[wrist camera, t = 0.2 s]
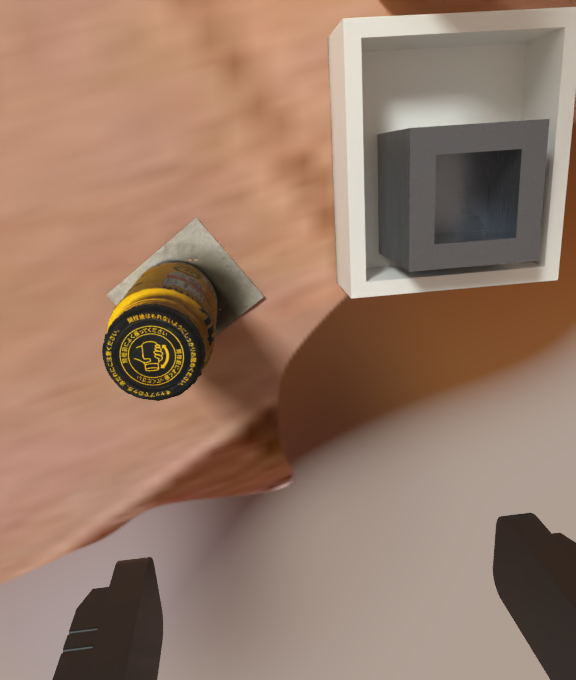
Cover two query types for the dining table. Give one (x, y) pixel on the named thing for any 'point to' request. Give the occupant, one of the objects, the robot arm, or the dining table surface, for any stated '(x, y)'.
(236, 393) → the dining table surface
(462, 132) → the socket
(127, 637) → the robot arm
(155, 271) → the condiment
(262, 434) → the dining table surface
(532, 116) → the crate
